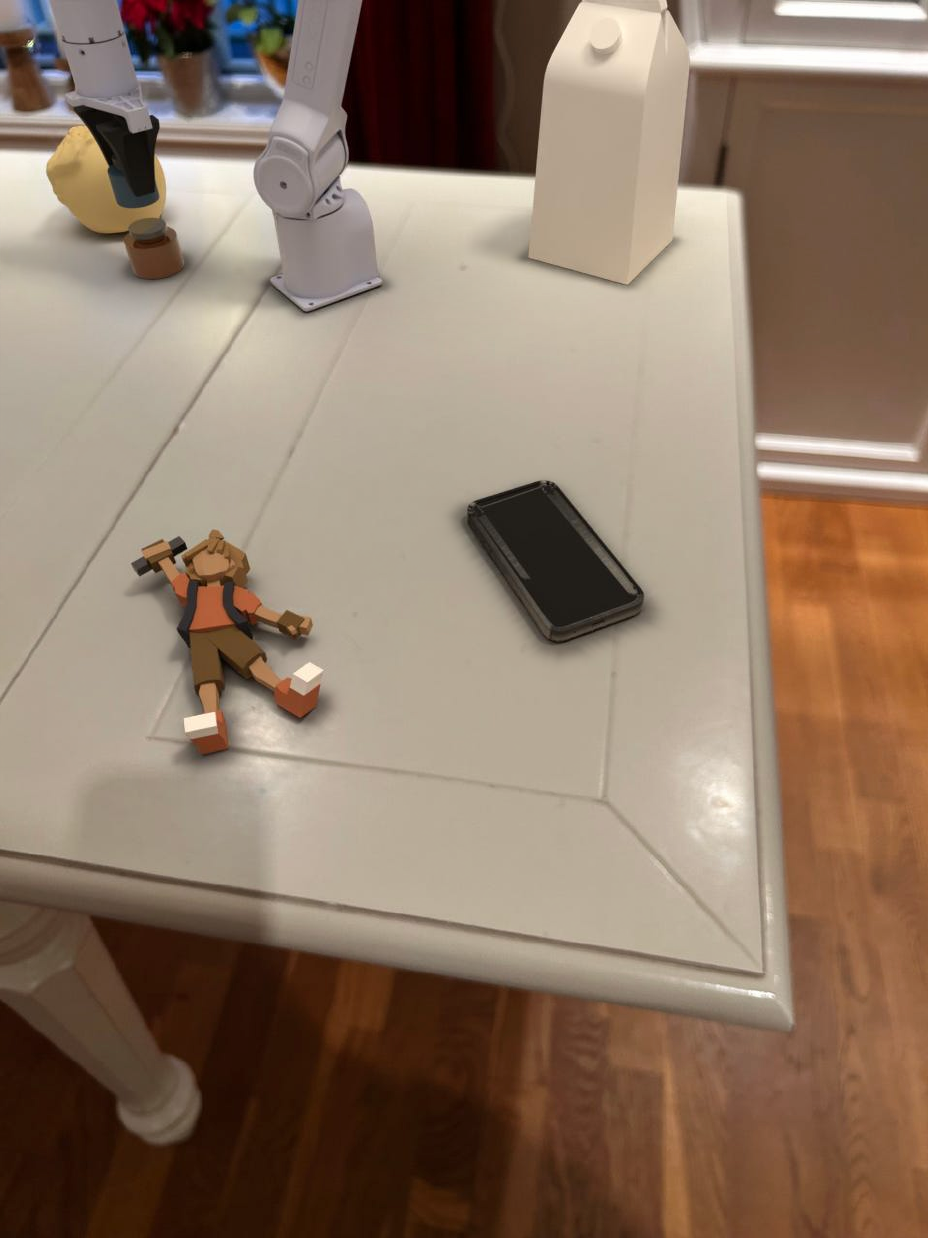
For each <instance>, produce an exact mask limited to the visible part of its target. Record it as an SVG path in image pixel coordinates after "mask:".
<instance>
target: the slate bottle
mask: <svg viewBox="0 0 928 1238" xmlns="http://www.w3.org/2000/svg"><path fill="white" fill-rule="evenodd" d="M112 160H113V165H111V166H110V167H109V168H108V170H107V172H108V175H109V179H110V182H111V185H112V189H113V192H114V195H115V199H116V202H117V204H118V205H119V206H121V207H124V208H142V207H146V206H149V205H152V204H154V203H155V202H157V201H158V199H159V197H160V196H159V192H158V188H157V184H156V180H155V192H154V193H150V194H147V195H143V196H140V197H136V196H135V195H134V194H133V192H132V190H131V189H130V187H129V185H128V183H127V180H126V178H125V176H124V173H123V171H122V168H121V166H120V164H119V162H118V160H117V158H116V156H115V154H113V155H112Z"/></svg>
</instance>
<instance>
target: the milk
mask: <svg viewBox="0 0 928 1238" xmlns="http://www.w3.org/2000/svg"><path fill="white" fill-rule="evenodd" d="M556 44H557V45H556V46H555V48H554V50H553V52H552V53H551V56H550V58H549V61H548V63H547V65H546V69H545V73H544V78H543V86H542V99H541V109H540V120H539V121H540V122H539V130H538V131H539V132H538V141H537V142H538V143H537V156H536V164H535V165H536V167H535V177H534V190H533V201H532V212H531V221H530V222H531V223H530V233H529V234H530V235H529V244H528V245H529V246H528V255H527V256H528V257H527V258H528V259H531V260H536V261H539V262H543V263H546V264H550V265H554V266H557V267H561V268H564V269H568V270H571V271H575V272H579V273H583V274H586V275H590V276H593V277H597V278H600V279H605V280H608V281H611V282H614V283H615V282H616V283H618V284H623V285H625V286H626V285H627V286H628V285H629V284H630V283H631V282H632V281H633V280H635V278H636V277H638V275H639V274H640V273H642V271H644V269H646V267H647V266H649V264H650V263H651V262H652V261H653V260H654V259H656V258H657V256H659V254H661V252H663V251H664V249H666V248H667V247H668V246H669V245H670V244H671V242H673V238H674V229H675V228H674V227H675V217H676V207H677V198H678V187H679V176H680V167H681V158H682V149H683V137H684V129H685V128H684V125H685V118H686V107H687V97H688V86H689V76H690V64H691V63H690V62H691V57H690V51H689V48H688V45H687V42H686V41H685V38H684V37H683V35H682V33H681V31H680V29H679V28H678V25H677V23H676V22H675V19H674V18H673V16H672V14H671V12H670V11H669V10H668V2H667V0H581V2H579V3H578V5H577V7H576V9H575V11H574V13H573V14H572V16H571V19H570V20H569V22H568V23H567V26H566V28H565V29H564V31H563V33H562V35H561V37H560V39H559V41H558V42H557V43H556Z"/></svg>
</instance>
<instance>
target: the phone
mask: <svg viewBox="0 0 928 1238" xmlns="http://www.w3.org/2000/svg"><path fill="white" fill-rule="evenodd" d="M466 511H467V512H466V513H467V514H466V515H467V519H466V520H467V524H468V525H469V526H470V528H471V529H472V531H473V532H474V534H475V536H476V538H478V540H479V542H480V543H481V545H482V546H483V547H484V549H485V550H486V552H487V553H488V555H489V556H490V558H491V560H492V561H493V562H494V564H495V565H496V566H497V568H498V569H499V571H500V572H501V574H502V575H503V577H504V578H505V580H506V582H507V583H508V584H509V585H510V588H512V590H513V592H514V593H515V595H516V596H517V597H518V599H519V600H520V602H521V603H522V605H523V606H524V608H525V609H526V611H527V612H528V613H529V615H530V616H531V618H532V620H533V622H534V623H535V624H536V625H537V627H538V628H539V630H540V631H541V633H542V634H543V636H545V637H546V639H548V640H550V641H553V642H560V643H562V642H567V641H569V640H572V639H575V638H577V637H580V636H584V635H586V634H589V633H591V632H594V631H597V630H599V629H603V628H605V627H607V626H611V625H614V624H616V623H618V622H621V621H625V620H627V619H629V618H632V617H636V616H637V615H639V614H640V612H642V609H643V605H644V599H645V593H644V591H643V589H642V588H641V586H640V585H639V584H638V583H637V581H636V580H635V579H634V578H633V577H632V575H631V574H630V573H629V572H628V570H627V569H626V568H625V567H624V566H623V564H622V563H621V562H620V561H619V560H618V558H617V557H616V556H615V555H614V553H613V552H612V551H611V550H610V548H609V547H608V546H607V544H606V543H605V542H604V541H603V540H602V539H601V537H600V536H599V535H598V533H597V532H596V531H595V530H594V529H593V528H592V526H591V525H590V524H589V522H588V521H587V520H586V519H585V518H584V516H583V515H582V514H581V512H580V511H579V510H578V509H577V508H576V507H575V505H574V504H573V503H572V502H571V500H570V499H569V497H568V496H567V495H566V494H565V493H564V492H563V490H561V488H560V487H559V486H558V485H557V484H556V483H555V482H553V481H551V480H547V479H540V480H537V481H534V482H530V483H527V484H524V485H521V486H517V487H514V488H511V489H507V490H505V491H502V492H501V491H500V492H498V493H494V494H492V495H488V496H486V497H482V498H479V499H475V500H473V501H472V502H470V503H469V504H468V505H467V510H466Z"/></svg>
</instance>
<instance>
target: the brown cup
mask: <svg viewBox="0 0 928 1238" xmlns="http://www.w3.org/2000/svg"><path fill="white" fill-rule="evenodd" d="M127 232H128V233H127V234H126V235H125V236H124V238H123V244H124V247H125V250H126V254H127V257H128V260H129V263H130V266H131V270H132V273H133V274H134V276H136V277H138V278H141V279H144V280H145V279H146V280H159V279H165V278H169V277H171V276H174V275H176V274H177V273H179V272H180V271H182V269H183V268H184V267H185V260H184V257H183V253H182V249H181V245H180V241H179V237H178V234H177V231H176V230H175V229H174V228H172V227H170V226H168V225H167V222H166V221H165V220H164V219H162V218H160V217H159V218H144V219H140V220H137V221H135V222H133V223H131V224H130V225H129V227H128V231H127Z"/></svg>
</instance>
